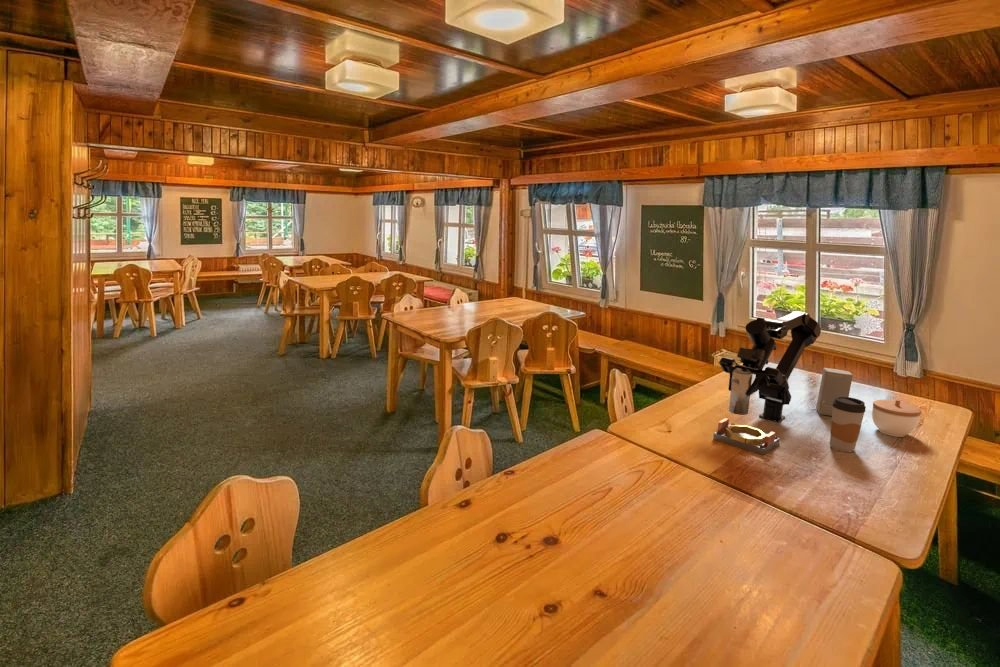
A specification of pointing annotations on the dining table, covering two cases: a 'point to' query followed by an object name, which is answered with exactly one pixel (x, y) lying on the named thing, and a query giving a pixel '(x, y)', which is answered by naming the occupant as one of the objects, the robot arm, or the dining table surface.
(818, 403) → the skincare box
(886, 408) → the lidded bowl
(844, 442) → the coffee cup
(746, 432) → the grey base with ring
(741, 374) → the spout can
